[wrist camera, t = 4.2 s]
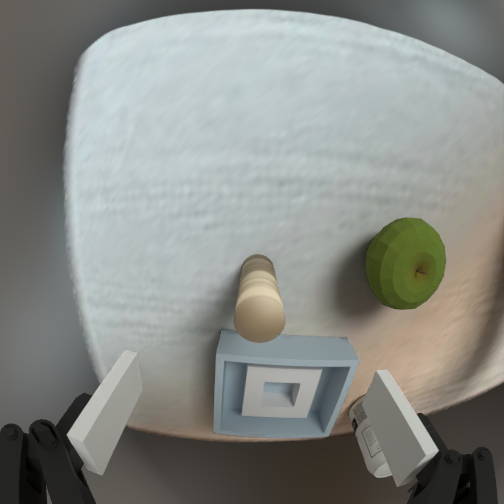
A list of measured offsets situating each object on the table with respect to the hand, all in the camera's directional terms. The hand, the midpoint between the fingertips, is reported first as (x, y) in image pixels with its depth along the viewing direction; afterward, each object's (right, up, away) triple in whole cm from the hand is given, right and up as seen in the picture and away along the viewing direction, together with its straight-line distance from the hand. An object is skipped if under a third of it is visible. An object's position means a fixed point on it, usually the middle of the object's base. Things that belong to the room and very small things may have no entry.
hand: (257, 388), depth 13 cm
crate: (+4, -12, +25) cm, 28 cm away
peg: (0, +5, +21) cm, 22 cm away
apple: (+18, +7, +21) cm, 28 cm away
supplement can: (+21, -21, +27) cm, 40 cm away
